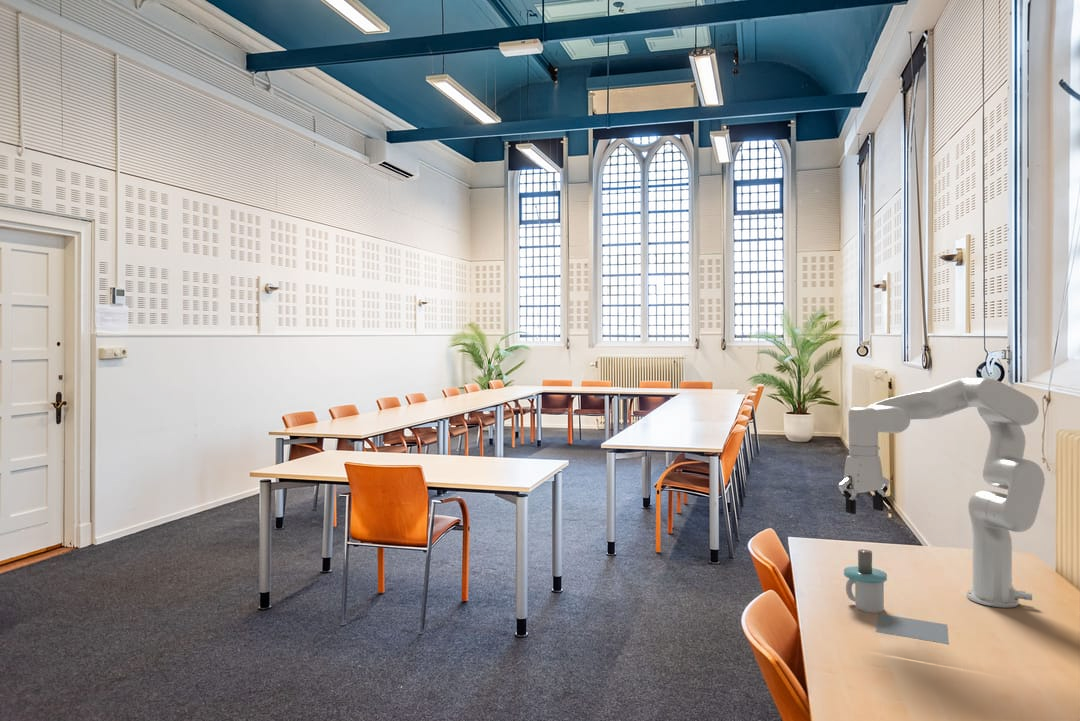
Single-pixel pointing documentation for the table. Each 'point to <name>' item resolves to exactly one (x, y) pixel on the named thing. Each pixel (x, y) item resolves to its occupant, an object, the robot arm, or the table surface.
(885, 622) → the mat
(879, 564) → the table surface
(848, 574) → the lid
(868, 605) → the cup
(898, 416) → the robot arm
